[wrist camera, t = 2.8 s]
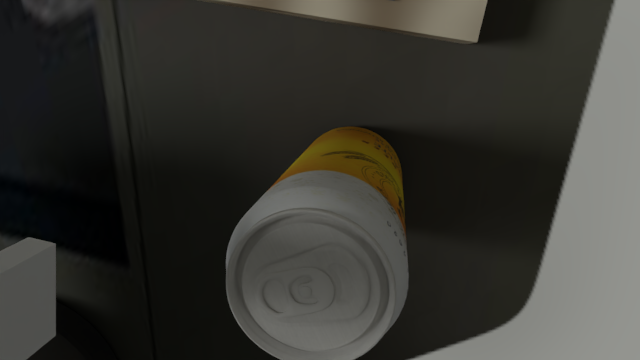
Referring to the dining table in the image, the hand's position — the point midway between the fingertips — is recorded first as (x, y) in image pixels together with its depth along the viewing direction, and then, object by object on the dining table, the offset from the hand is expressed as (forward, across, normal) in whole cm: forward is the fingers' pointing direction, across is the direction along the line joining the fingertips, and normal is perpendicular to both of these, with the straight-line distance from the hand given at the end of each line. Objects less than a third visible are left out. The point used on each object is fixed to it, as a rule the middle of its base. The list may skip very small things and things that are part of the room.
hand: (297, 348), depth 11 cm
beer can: (+18, 0, 0) cm, 18 cm away
